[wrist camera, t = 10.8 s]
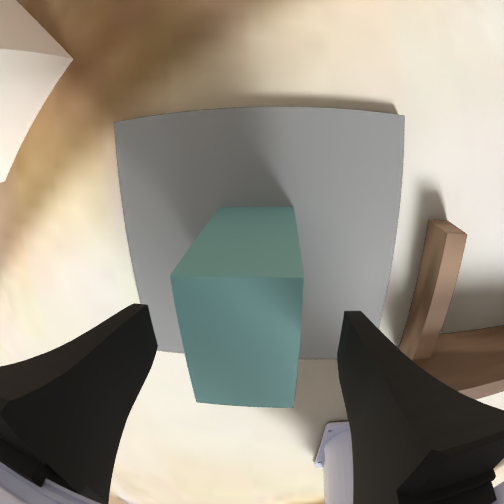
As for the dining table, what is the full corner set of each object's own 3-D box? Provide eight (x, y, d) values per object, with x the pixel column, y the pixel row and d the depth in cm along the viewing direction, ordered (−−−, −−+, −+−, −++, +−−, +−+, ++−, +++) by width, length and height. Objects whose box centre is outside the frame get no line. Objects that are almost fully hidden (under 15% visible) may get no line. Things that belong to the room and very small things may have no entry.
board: (368, 349, 20) (370, 357, 20) (156, 343, 22) (152, 349, 21) (399, 115, 14) (404, 115, 13) (120, 122, 16) (114, 122, 15)
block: (291, 303, 18) (293, 407, 11) (226, 302, 19) (196, 402, 11) (293, 206, 16) (304, 277, 9) (219, 207, 16) (169, 275, 9)
